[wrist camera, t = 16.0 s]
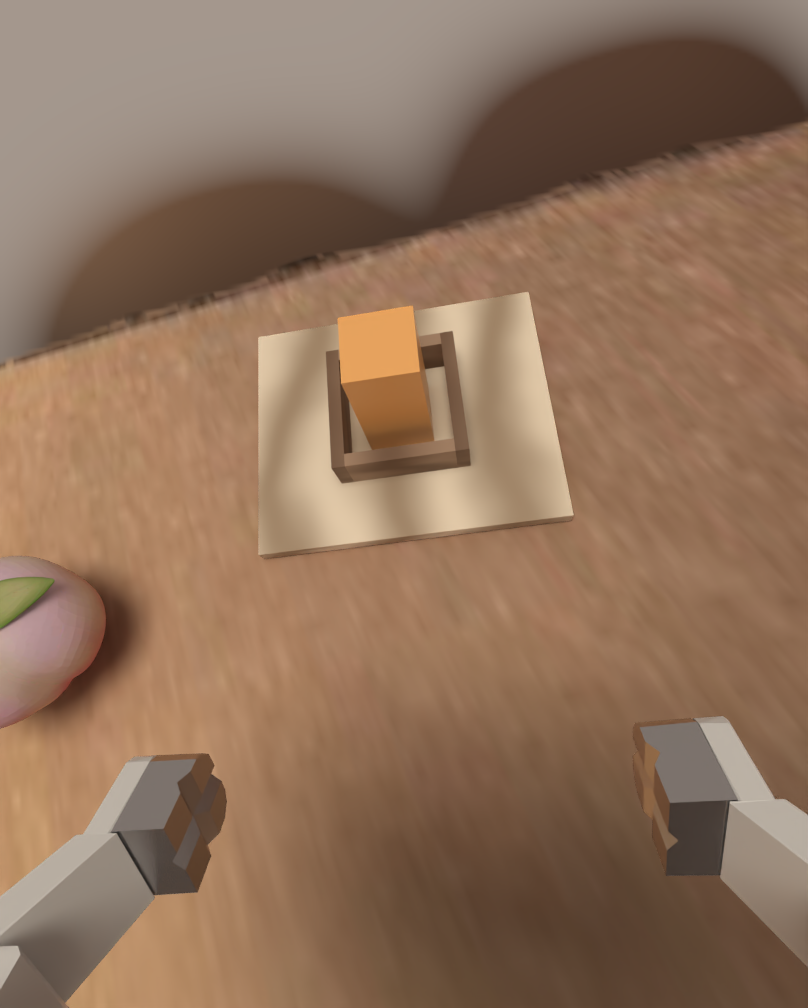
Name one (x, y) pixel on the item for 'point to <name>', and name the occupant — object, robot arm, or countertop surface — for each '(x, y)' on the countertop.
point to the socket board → (416, 467)
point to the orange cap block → (386, 377)
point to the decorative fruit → (43, 633)
